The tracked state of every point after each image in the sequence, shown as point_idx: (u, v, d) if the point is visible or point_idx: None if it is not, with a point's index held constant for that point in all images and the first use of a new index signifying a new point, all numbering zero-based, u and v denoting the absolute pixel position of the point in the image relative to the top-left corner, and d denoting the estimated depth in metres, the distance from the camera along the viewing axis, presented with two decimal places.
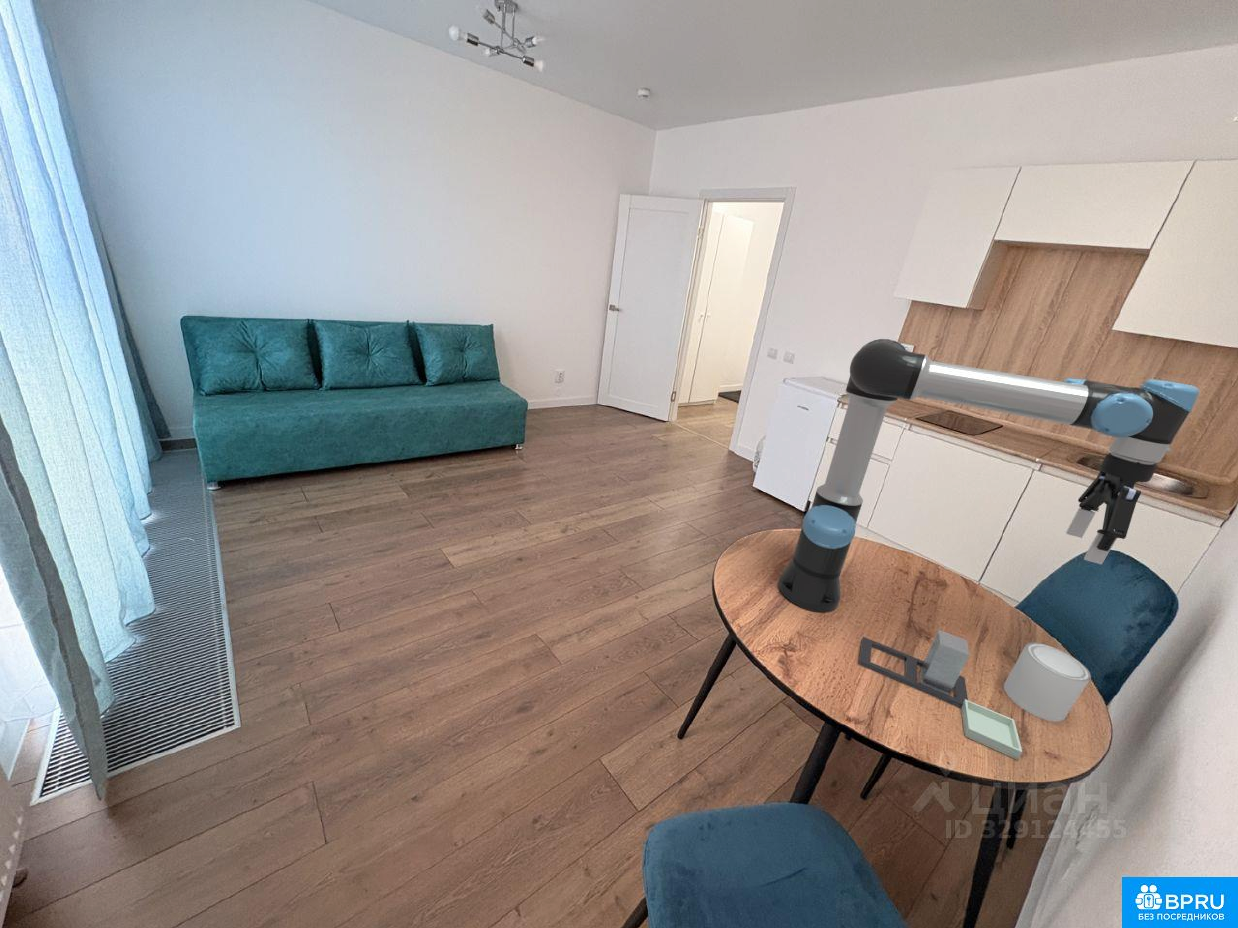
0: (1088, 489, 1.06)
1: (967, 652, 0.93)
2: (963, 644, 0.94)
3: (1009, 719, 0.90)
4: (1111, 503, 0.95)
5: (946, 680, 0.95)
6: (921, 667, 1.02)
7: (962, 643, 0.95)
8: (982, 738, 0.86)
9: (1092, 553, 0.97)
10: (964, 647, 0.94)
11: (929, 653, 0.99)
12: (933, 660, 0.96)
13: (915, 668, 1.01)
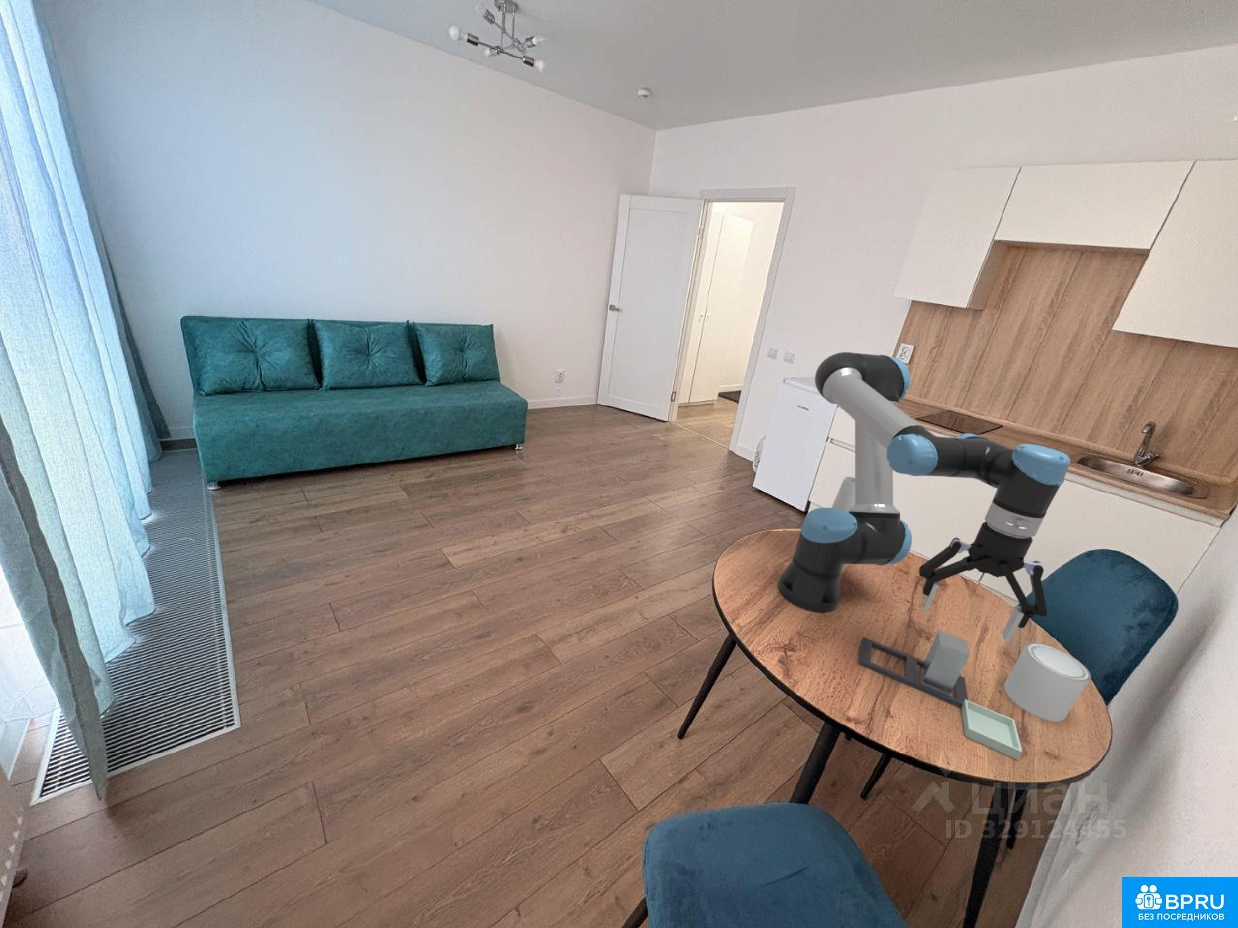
0: None
1: (967, 652, 0.93)
2: (963, 644, 0.94)
3: (1009, 719, 0.90)
4: (961, 560, 0.91)
5: (946, 680, 0.95)
6: (921, 667, 1.02)
7: (962, 643, 0.95)
8: (982, 738, 0.86)
9: (925, 598, 0.96)
10: (964, 647, 0.94)
11: (929, 653, 0.99)
12: (933, 660, 0.95)
13: (915, 668, 1.01)
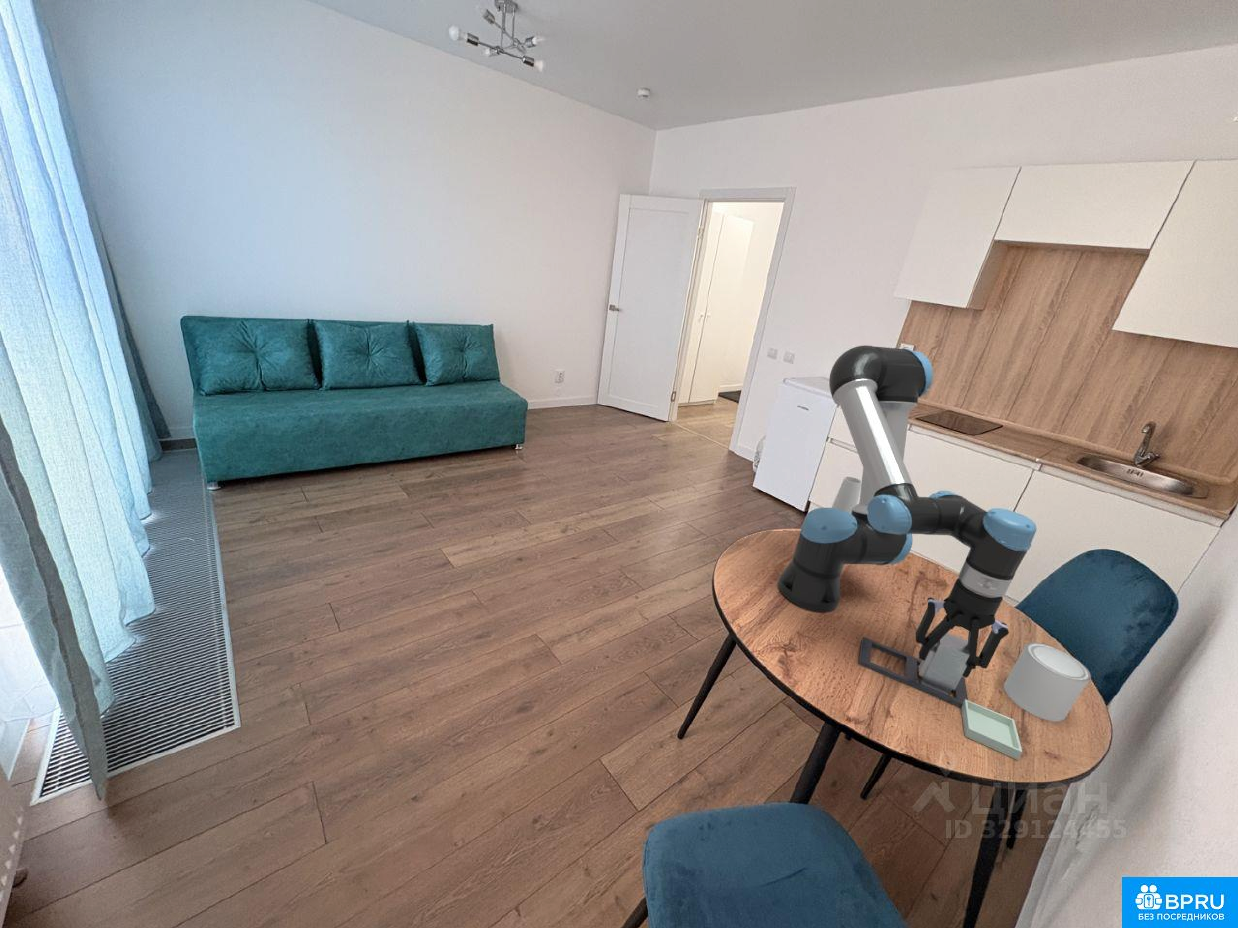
0: None
1: (967, 652, 0.93)
2: (963, 644, 0.94)
3: (1009, 719, 0.90)
4: (943, 619, 0.96)
5: (946, 680, 0.95)
6: None
7: (962, 643, 0.95)
8: (982, 738, 0.86)
9: (921, 661, 1.00)
10: (964, 647, 0.94)
11: None
12: (933, 660, 0.95)
13: (915, 668, 1.01)
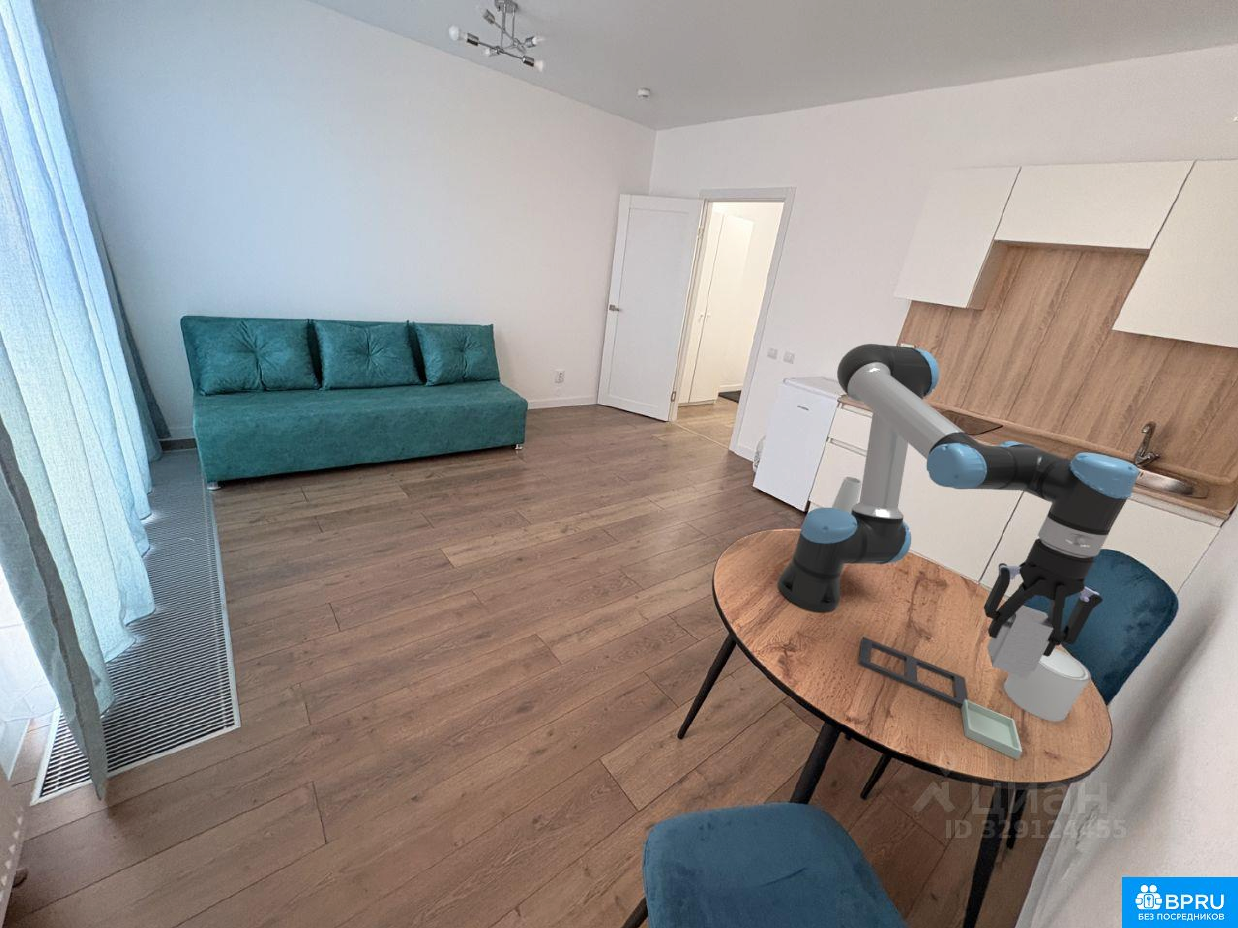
0: None
1: (1050, 625, 0.79)
2: (1043, 617, 0.81)
3: (1009, 719, 0.90)
4: (1018, 589, 0.82)
5: (1024, 660, 0.82)
6: None
7: (1042, 616, 0.81)
8: (982, 738, 0.86)
9: (991, 640, 0.86)
10: (1045, 620, 0.80)
11: None
12: (1008, 636, 0.82)
13: (915, 668, 1.01)
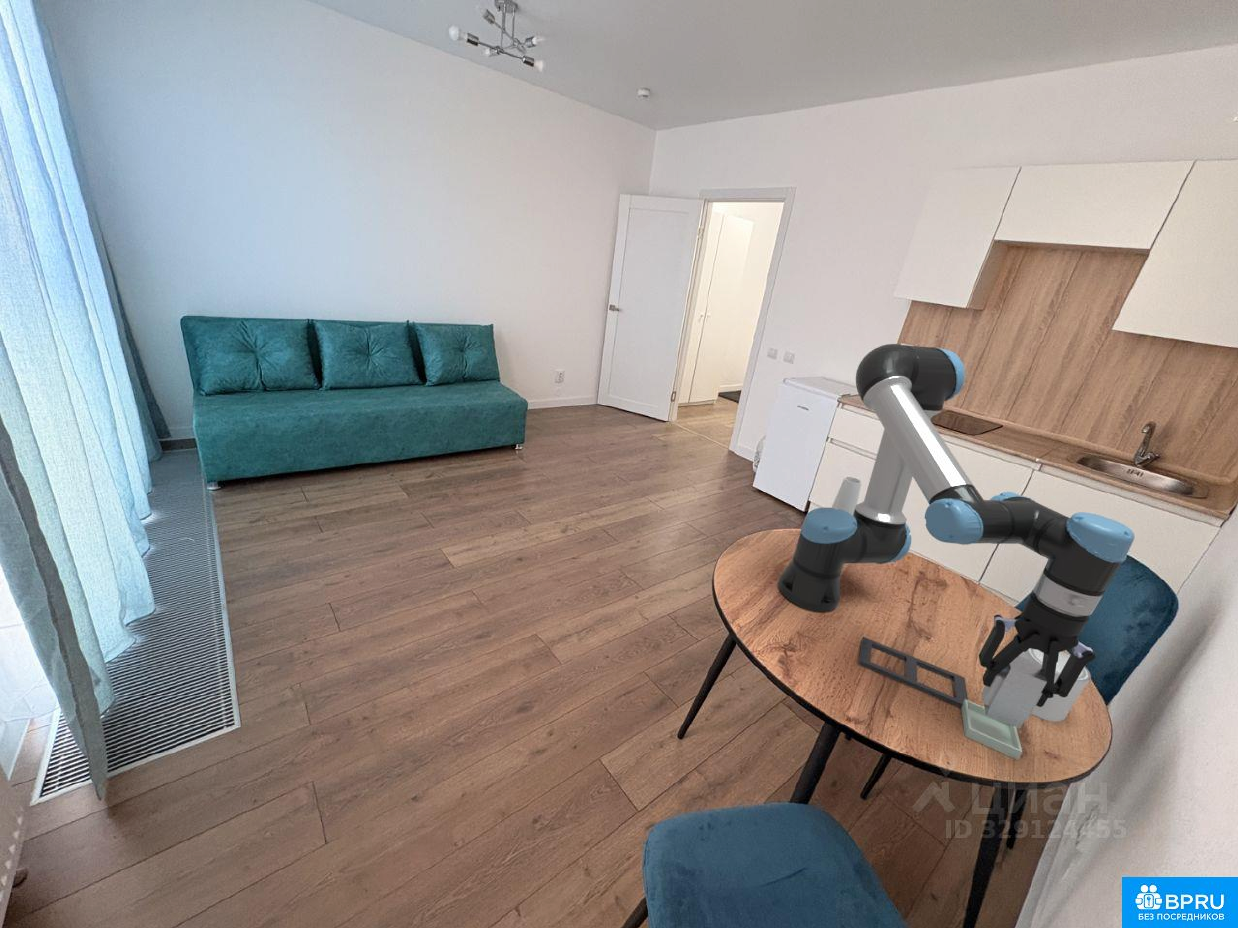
0: None
1: (1043, 678, 0.80)
2: (1037, 669, 0.82)
3: None
4: (1013, 640, 0.83)
5: (1017, 710, 0.83)
6: None
7: (1036, 667, 0.82)
8: (982, 738, 0.86)
9: (985, 687, 0.88)
10: (1039, 672, 0.81)
11: None
12: (1002, 686, 0.83)
13: (915, 668, 1.01)
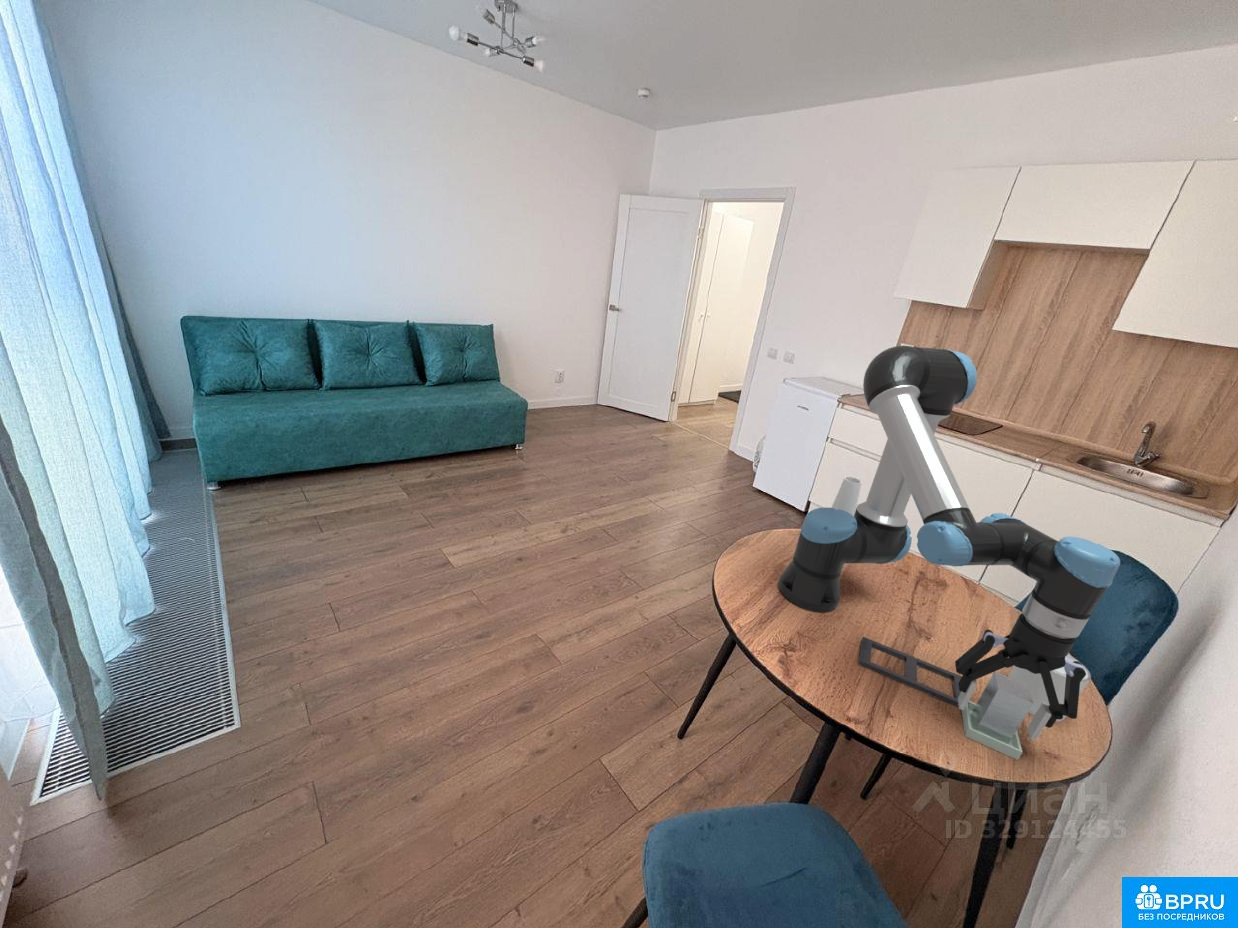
0: None
1: (1030, 699, 0.82)
2: (1024, 689, 0.84)
3: None
4: (997, 654, 0.85)
5: (1004, 729, 0.85)
6: None
7: (1023, 688, 0.84)
8: (982, 738, 0.86)
9: (961, 693, 0.90)
10: (1026, 693, 0.83)
11: (983, 697, 0.89)
12: (990, 706, 0.85)
13: (915, 668, 1.01)
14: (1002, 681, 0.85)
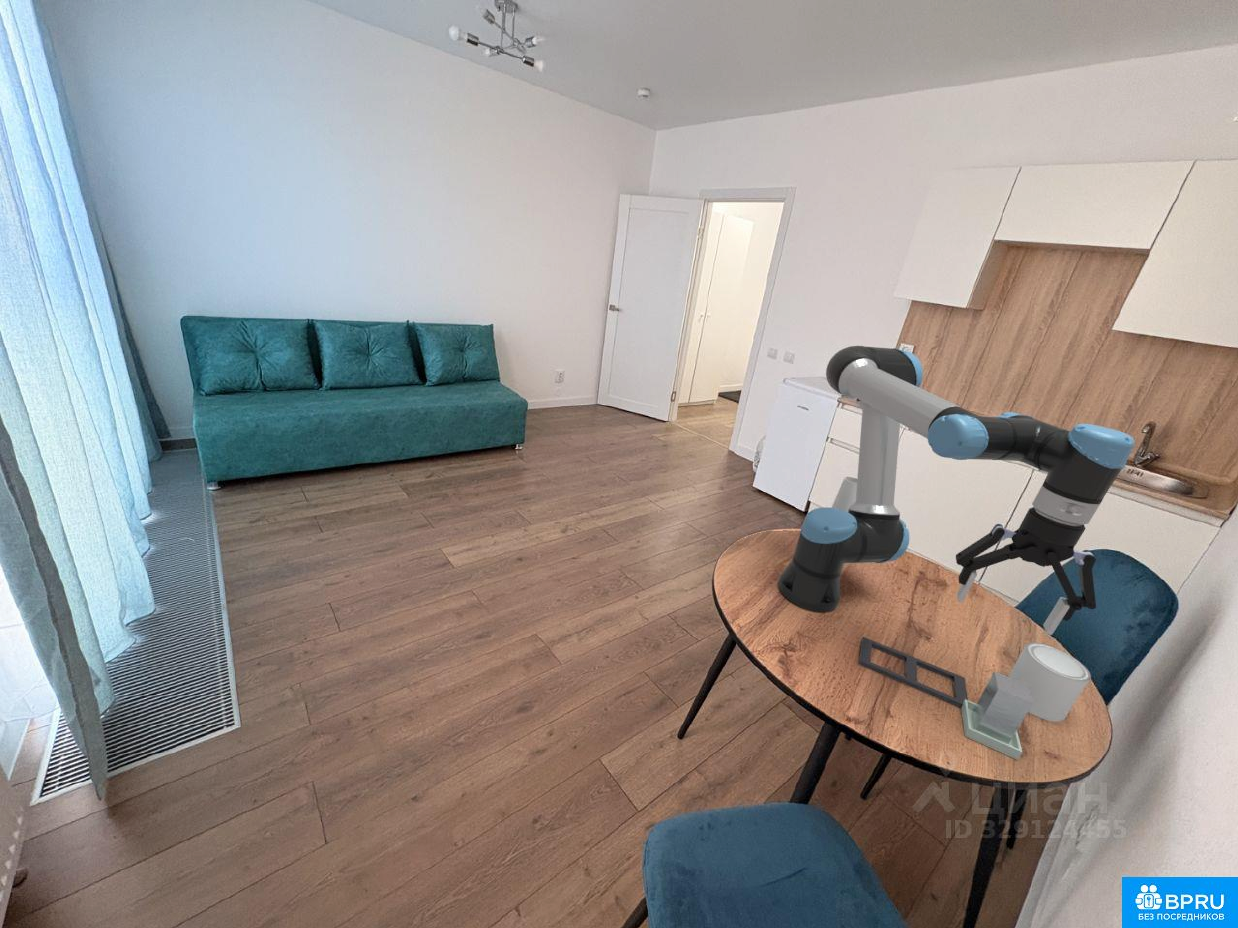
0: None
1: (1030, 699, 0.82)
2: (1024, 689, 0.84)
3: None
4: (1002, 548, 0.85)
5: (1004, 729, 0.85)
6: None
7: (1023, 688, 0.84)
8: (982, 738, 0.86)
9: (961, 587, 0.91)
10: (1026, 693, 0.83)
11: (983, 697, 0.89)
12: (990, 706, 0.85)
13: (915, 668, 1.01)
14: (1002, 681, 0.85)
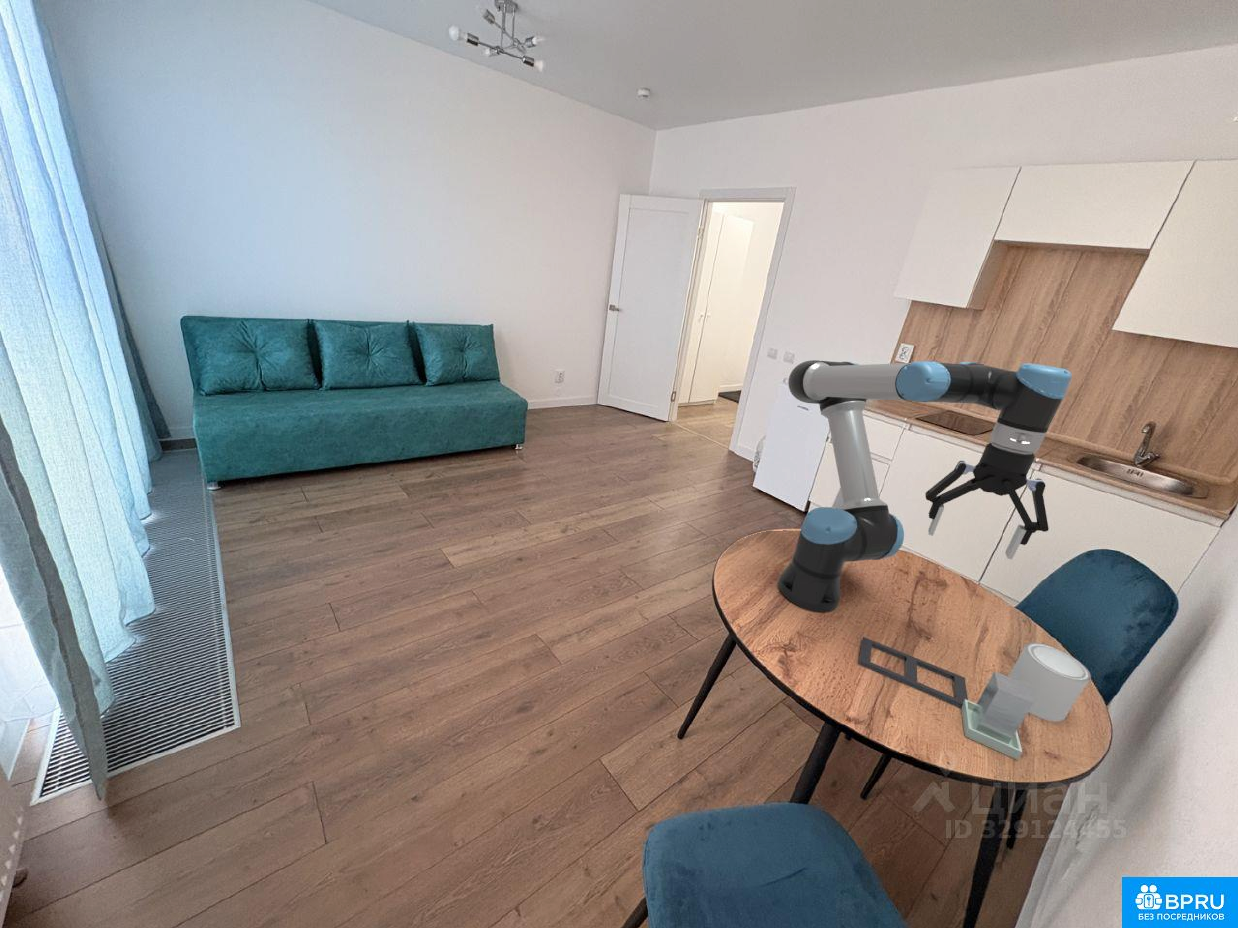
0: None
1: (1030, 699, 0.82)
2: (1024, 689, 0.84)
3: None
4: (966, 482, 0.95)
5: (1004, 729, 0.85)
6: None
7: (1023, 688, 0.84)
8: (982, 738, 0.86)
9: (931, 522, 1.00)
10: (1026, 693, 0.83)
11: (983, 697, 0.89)
12: (990, 706, 0.85)
13: (915, 668, 1.01)
14: (1002, 681, 0.85)
